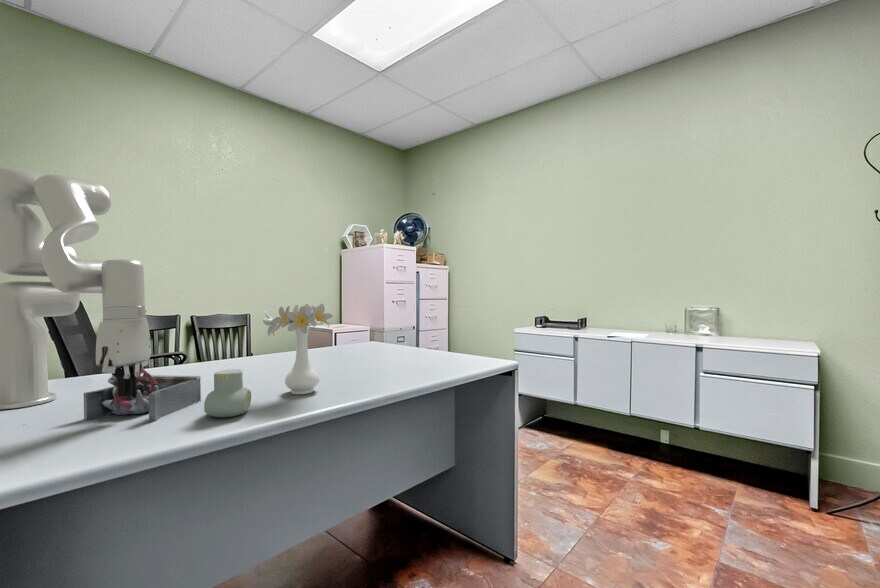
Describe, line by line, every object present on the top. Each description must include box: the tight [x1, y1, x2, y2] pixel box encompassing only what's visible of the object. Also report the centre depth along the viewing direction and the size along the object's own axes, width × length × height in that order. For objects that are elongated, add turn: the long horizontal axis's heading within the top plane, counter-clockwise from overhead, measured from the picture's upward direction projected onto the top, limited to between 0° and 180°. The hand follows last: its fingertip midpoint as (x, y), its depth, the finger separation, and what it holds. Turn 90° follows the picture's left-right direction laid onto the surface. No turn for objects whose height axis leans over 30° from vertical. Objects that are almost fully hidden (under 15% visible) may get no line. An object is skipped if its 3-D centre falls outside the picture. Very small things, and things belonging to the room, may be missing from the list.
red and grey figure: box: [101, 367, 159, 416], centre depth 96 cm, size 11×11×12 cm
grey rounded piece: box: [203, 368, 252, 419], centre depth 93 cm, size 11×8×10 cm
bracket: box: [83, 374, 202, 422], centre depth 97 cm, size 17×16×7 cm
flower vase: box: [262, 303, 334, 396], centre depth 112 cm, size 13×18×25 cm
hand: (127, 395), depth 90 cm, fingers closed
